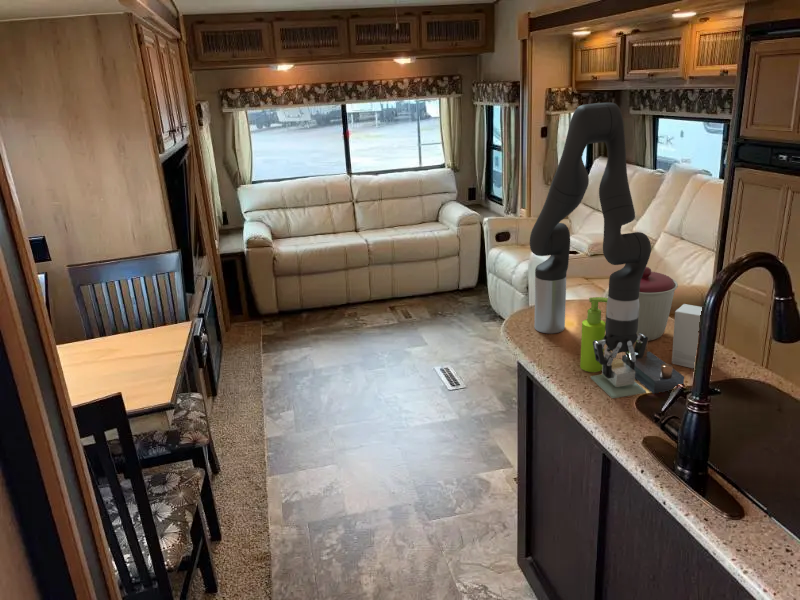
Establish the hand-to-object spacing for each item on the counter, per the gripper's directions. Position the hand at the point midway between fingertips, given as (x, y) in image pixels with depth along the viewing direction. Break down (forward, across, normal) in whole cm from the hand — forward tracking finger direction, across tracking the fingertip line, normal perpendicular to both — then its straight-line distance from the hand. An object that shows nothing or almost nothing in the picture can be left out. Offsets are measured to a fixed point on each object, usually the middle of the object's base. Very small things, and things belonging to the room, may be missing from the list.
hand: (617, 375), depth 155 cm
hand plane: (+3, -10, -1) cm, 10 cm away
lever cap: (+1, 0, 0) cm, 1 cm away
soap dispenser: (+3, +1, -11) cm, 11 cm away
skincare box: (+3, -24, -5) cm, 25 cm away
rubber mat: (+3, 0, 0) cm, 3 cm away
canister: (+3, -22, -26) cm, 34 cm away
